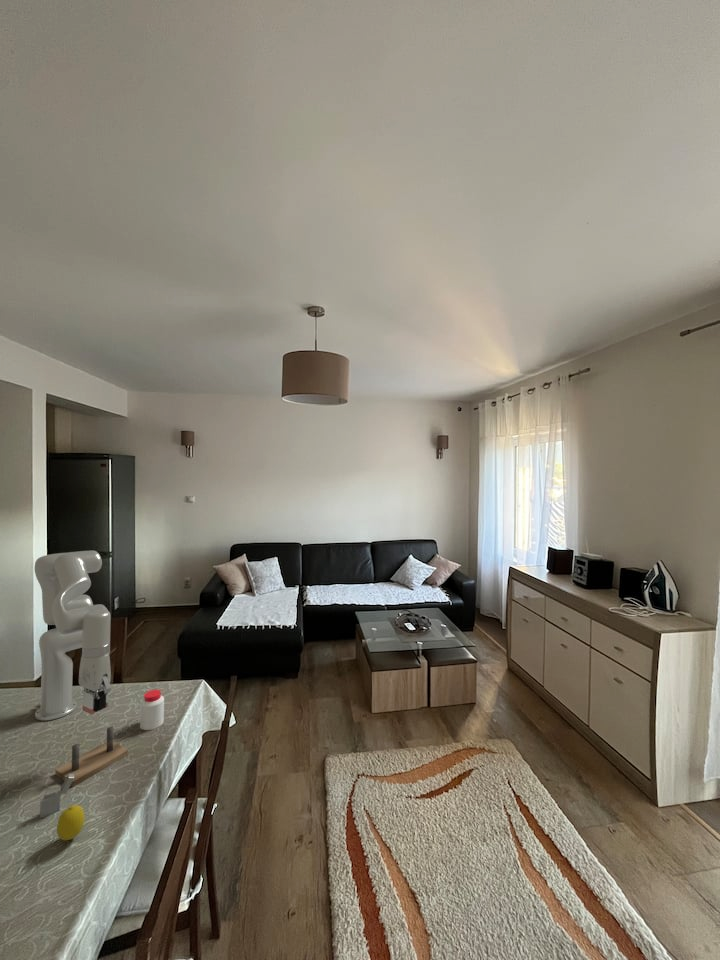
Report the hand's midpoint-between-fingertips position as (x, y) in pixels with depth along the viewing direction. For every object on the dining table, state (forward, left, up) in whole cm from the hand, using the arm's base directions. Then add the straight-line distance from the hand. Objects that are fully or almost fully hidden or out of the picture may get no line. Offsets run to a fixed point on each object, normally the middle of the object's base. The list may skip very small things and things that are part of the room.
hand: (95, 706), depth 127 cm
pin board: (+4, -2, -16) cm, 16 cm away
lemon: (+27, -19, -16) cm, 36 cm away
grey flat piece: (+14, -16, -16) cm, 26 cm away
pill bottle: (0, +20, -16) cm, 26 cm away
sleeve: (0, 0, -1) cm, 1 cm away
